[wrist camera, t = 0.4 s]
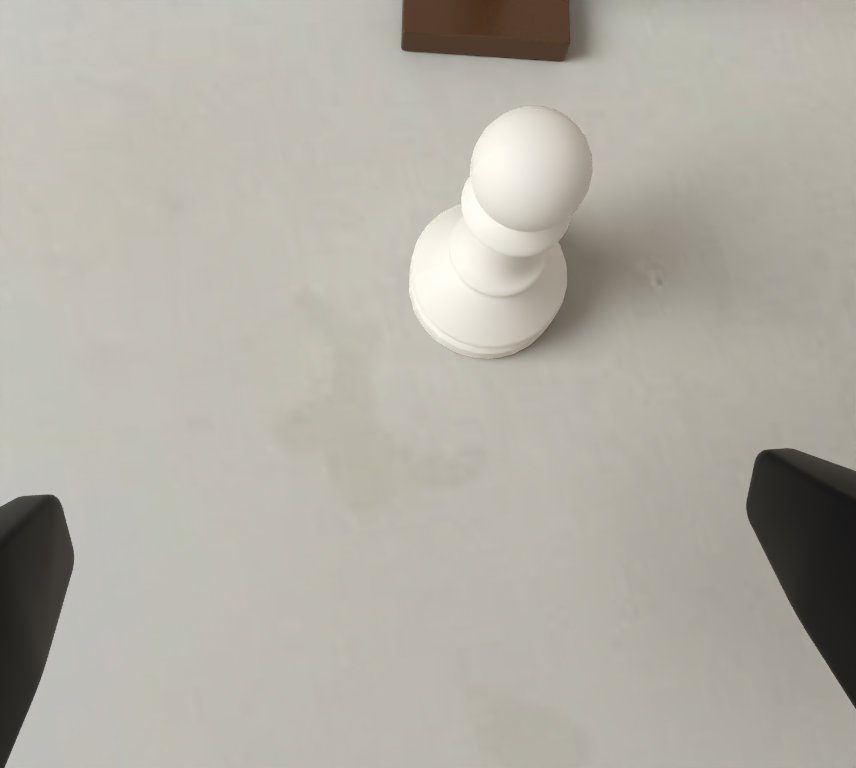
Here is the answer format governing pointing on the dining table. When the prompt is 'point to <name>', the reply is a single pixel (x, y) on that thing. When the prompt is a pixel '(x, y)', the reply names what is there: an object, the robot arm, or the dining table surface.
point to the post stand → (488, 27)
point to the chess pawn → (503, 237)
